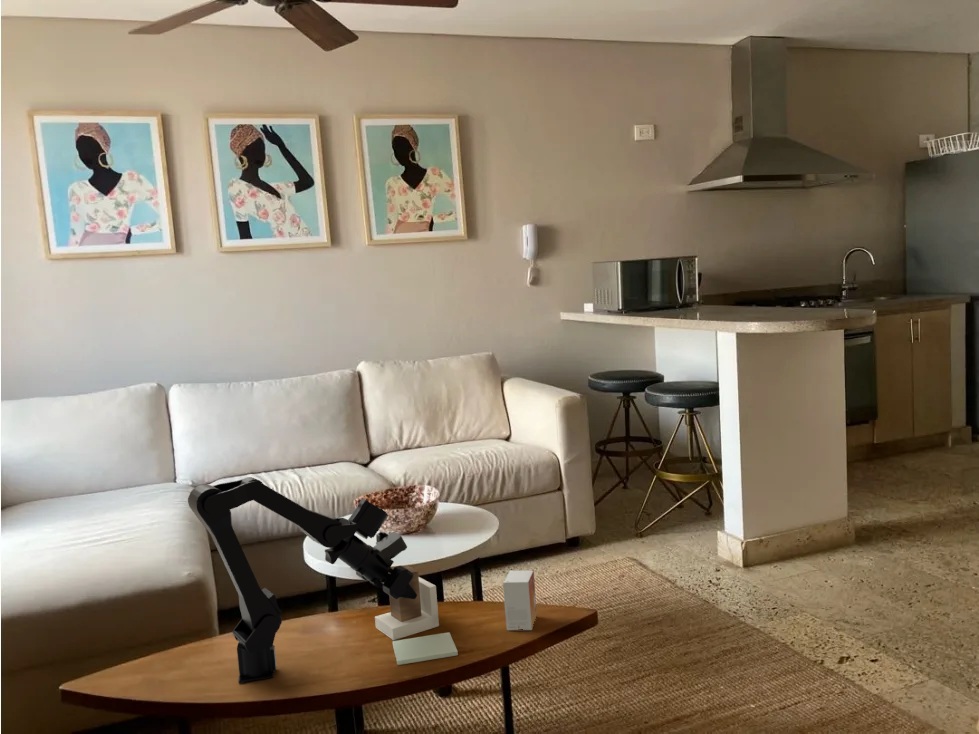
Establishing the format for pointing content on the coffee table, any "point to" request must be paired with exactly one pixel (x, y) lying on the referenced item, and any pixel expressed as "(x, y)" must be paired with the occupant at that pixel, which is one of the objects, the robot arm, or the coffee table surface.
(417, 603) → the walnut block
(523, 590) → the small box
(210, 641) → the coffee table surface
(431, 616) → the ledge
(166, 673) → the coffee table surface
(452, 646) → the pad
